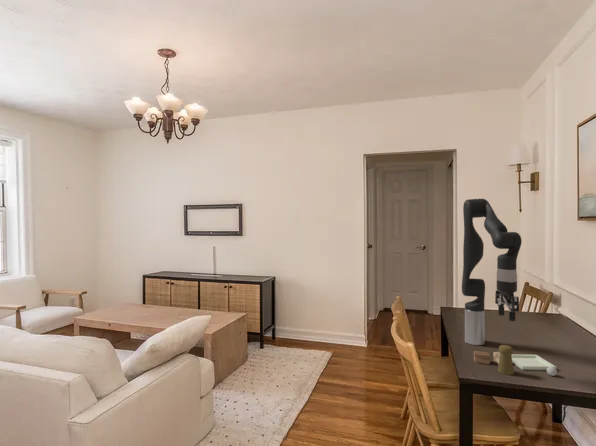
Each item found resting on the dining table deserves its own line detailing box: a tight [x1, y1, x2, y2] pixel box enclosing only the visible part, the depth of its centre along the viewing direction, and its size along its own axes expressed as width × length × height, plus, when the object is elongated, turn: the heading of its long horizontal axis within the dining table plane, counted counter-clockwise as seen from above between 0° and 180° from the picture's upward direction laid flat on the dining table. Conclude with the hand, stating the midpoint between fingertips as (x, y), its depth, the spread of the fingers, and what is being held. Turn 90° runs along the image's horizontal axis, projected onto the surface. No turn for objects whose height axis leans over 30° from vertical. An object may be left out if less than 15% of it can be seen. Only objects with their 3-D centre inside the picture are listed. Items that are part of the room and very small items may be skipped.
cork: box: [497, 344, 515, 376], centre depth 156 cm, size 6×6×11 cm
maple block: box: [493, 351, 500, 365], centre depth 167 cm, size 4×4×4 cm
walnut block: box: [473, 350, 491, 365], centre depth 167 cm, size 4×6×4 cm, turn 72°
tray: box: [511, 353, 557, 371], centre depth 164 cm, size 14×14×2 cm
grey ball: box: [546, 367, 558, 377], centre depth 152 cm, size 4×4×4 cm
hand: (506, 318), depth 156 cm, fingers open, 8 cm apart
